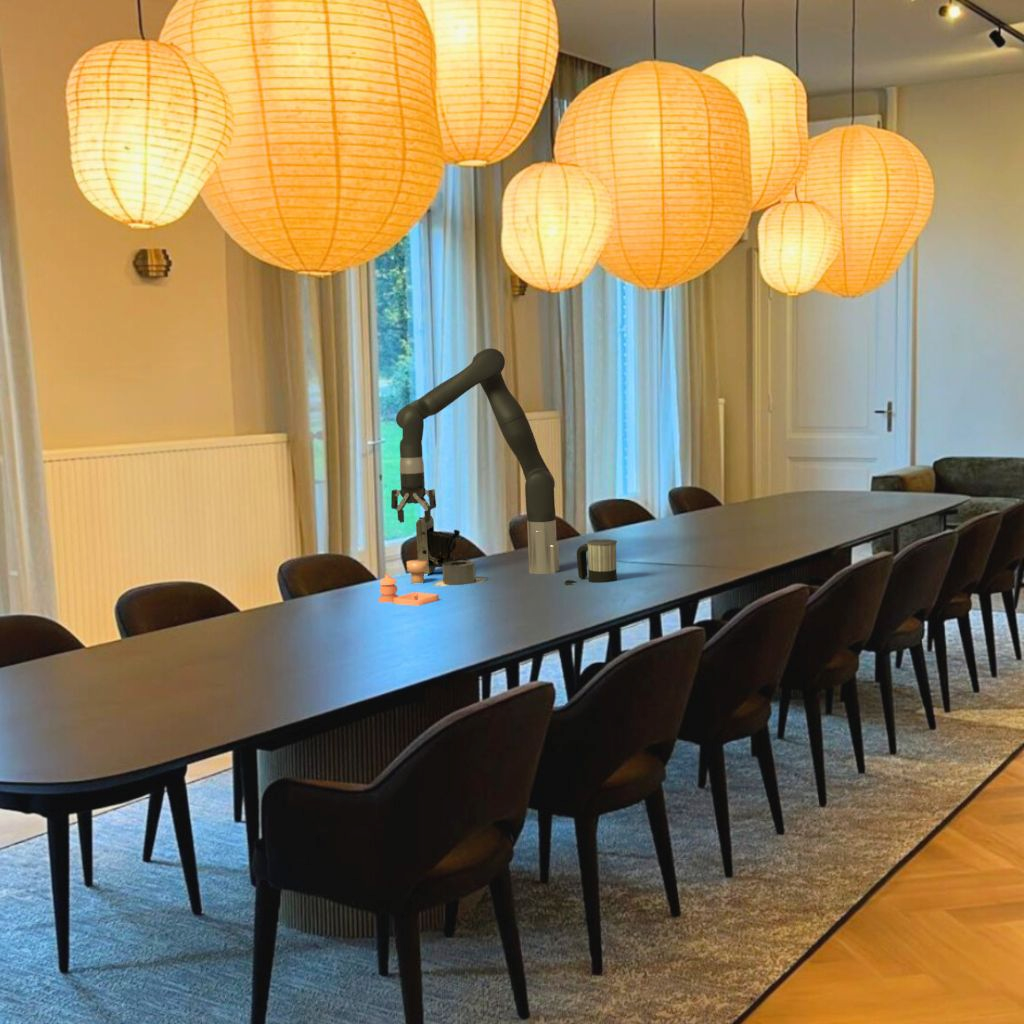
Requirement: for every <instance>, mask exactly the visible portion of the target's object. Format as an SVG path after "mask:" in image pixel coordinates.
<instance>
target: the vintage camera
mask: <svg viewBox="0 0 1024 1024" xmlns="http://www.w3.org/2000/svg"><path fill="white" fill-rule="evenodd" d="M434 524H435V523H434V517H433V516H432V515H431V520H430V521H429V522H428V523H425V515H424V516H423V517H419V518H418V519H417V521H416V522H415V532H416V533H415V534H416V550H417V551H416V552H417V560H427V571H425V572H424V574H429V575H431V574H432V573H433V572H435V570H436V568H442V564H443V563H445V562H450V561H459V560H464V561H470V560H469V559H468V558H455V556H452V557H451V553H454V551H455V550H456V547H457V542H458V541H457V538H459V537H460V534H461V532H460V530H459V529H454V530H453V534H452V535H450V534H449V533H445V532H441V531H436V530H435V525H434ZM431 572H432V573H431ZM430 573H431V574H430Z"/></svg>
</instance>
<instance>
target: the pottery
mask: <svg viewBox="0 0 1024 1024" xmlns="http://www.w3.org/2000/svg"><path fill="white" fill-rule="evenodd" d="M379 584H380V585H381V586H380V587H379V592H380V594H381V595H380V596H379V598H378V600H377V601H379V602H378V603H393V604H394V605H401V606H402V605H404V606H418V607H419V606H422V605H426V604H430V603H433V602H437V601H439V600H440V597H439V594H437V593H436V594H435V593H426V592H419V591H418V592H416V591H415V592H413V591H412V592H410V593H406V594H403V595H400V596H399V595H398V594H397V592H398V587H397V585H396V584H397V579H395V578H393V577H391V574H384V577H383V578H382V579H380V581H379Z"/></svg>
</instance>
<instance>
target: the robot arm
mask: <svg viewBox="0 0 1024 1024" xmlns="http://www.w3.org/2000/svg"><path fill="white" fill-rule="evenodd" d="M505 364H506V359H505V356H504V355H503V353H502V352H501V351H500V350H499V349H496V348H490V347H489V348H485V349H483V350H481V351H479V352H478V353H476V354H475V355H474V356H473V358H472V361H471V363H470V364H469V365H468V366H466V367H464V369H462V370H461V371H459V372H458V373H456V374H454V376H452V377H450V378H448V379H446V380H445V381H443V382H441V383H440V384H438V385H437V386H435V387H434V388H432V389H431V390H430V391H428V392H426V393H425V394H423V396H421V397H420V398H418V399H415V400H414V401H412V402H411V403H408V404H407V405H405V406H403V407H402V408H401V409H399V411H398V412H397V413H396V417H395V421H396V425H397V426H398V427H399V428H400V429H402V439H401V440H400V442H399V455H400V456H399V457H400V458H399V475H400V490H399V489H397V488H395V489H393V490H391V499H390V500H391V502H390V503H391V509H392V510H396V512H397V520H398V522H399V523H400V524H403V523H404V522H405V513H404V511H405V510H404V507H406V505H407V504H419V505H420V506H421V507H422V508H423V510H424V511H423V512H424V513H423V514H424V516H425V523H428V522H429V521H430V520H431V516H432V515H431V512H432V511H431V510H433V509H436V508H437V501H436V490H435V489H433V488H432V489H427V490H426V487H425V485H426V483H425V465H424V464H425V463H424V460H423V459H424V458H423V436H424V429H425V428H424V426H425V425H424V424H425V423H424V422H425V421H424V420H425V419H427V418H429V417H430V416H431V417H432V416H435V415H436V414H439V413H440V412H441V411H443V410H445V409H446V408H447V407H449V406H450V405H451V404H453V403H454V402H455V401H456V400H457V399H459V398H461V396H463V395H464V394H465V393H467V392H468V391H469V390H470V389H472V388H474V387H476V386H478V385H479V384H480V386H481V388H482V390H483V391H484V393H485V396H486V397H487V399H488V403H489V406H490V407H491V410H492V412H493V416H495V420H496V422H497V424H498V427H499V429H500V432H501V433H502V436H503V438H504V440H505V442H506V443H507V445H508V447H509V449H510V450H511V451H512V453H513V454H514V456H515V457H516V459H517V460H518V462H519V464H520V467H521V469H522V473H523V476H524V478H525V484H524V491H525V492H524V496H525V512H526V522H527V523H526V524H527V547H528V571H529V572H528V573H529V574H531V575H545V574H547V575H548V574H556V573H557V572H559V571H560V555H559V553H560V551H559V549H560V547H559V542H558V541H557V521H556V516H557V515H556V504H555V503H556V502H555V486H556V484H555V478H554V476H553V474H552V472H551V471H550V469H549V467H548V465H547V464H546V463H545V460H544V459H543V457H542V455H541V452H540V451H539V448H538V444H537V441H536V438H535V435H534V431H533V430H532V427H531V425H530V422H529V420H528V417H527V416H526V415H527V414H526V413H525V411H524V409H523V407H522V406H521V404H520V403H519V402H518V401H517V399H516V398H515V396H513V394H512V393H511V391H510V390H509V388H508V386H507V384H506V383H505V380H504V377H503V374H502V371H503V370H504V369H505ZM399 496H401V501H399ZM425 496H426V497H428V501H429V503H428V501H427V499H426V497H425ZM398 501H399V503H398Z"/></svg>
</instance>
